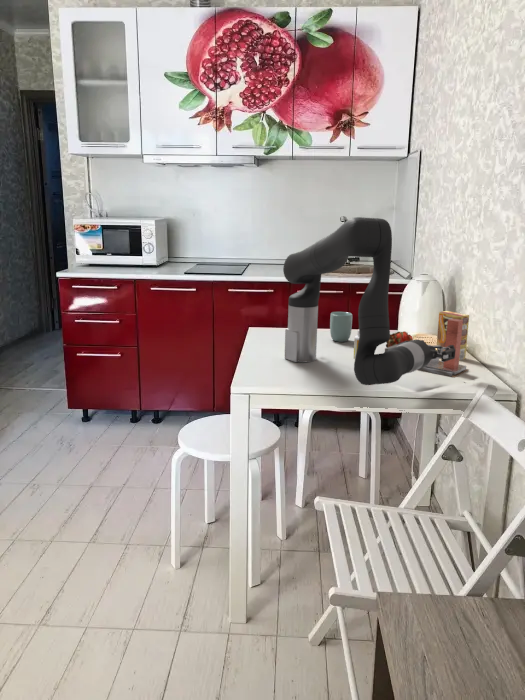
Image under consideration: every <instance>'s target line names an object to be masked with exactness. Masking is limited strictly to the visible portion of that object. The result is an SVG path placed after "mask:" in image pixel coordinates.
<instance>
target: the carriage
mask: <svg viewBox="0 0 525 700" xmlns="http://www.w3.org/2000/svg"><path fill="white" fill-rule="evenodd" d="M462 326H463V320H460V319H453V318H452V319H449V320H448V322H447V333H446V344H445V347H447V346H449V345H454V347H455V349H456V351H455V358H454V359H451V360H448V361H445V362H440V361H441V360H440V359H432V360H431V361H430V362H429V363H428V365H426V366H425V367H426V368H431V369H436V370H441V371H446V372H451V373H453V374H452V375H456V374H458V373H460V372H462V371H464V370H466V369H467V365H464V366H461V365H462V364H459V363H460V360H459V356H460V346H461V336H462Z"/></svg>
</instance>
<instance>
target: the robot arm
mask: <svg viewBox="0 0 525 700" xmlns="http://www.w3.org/2000/svg"><path fill="white" fill-rule="evenodd" d="M392 250H393V234H392V227H391V225H390V223H389V222H388V220H386V219H383V218H375V217H362V216H361V217H359V216H357V217H352V218H349V219H348V220H346V221H344V223H343V224H341V225H340V226H339V227H338V228H337V229H336V230H335V231H333V232H331V233H330V234H329V235H326V236H325V237H322V238H321V239H319V240H317V241H316V242H315V243H313V244H311V245H309V246H308V247H306V248H304V249H303V250H301V251H298V252H293V253H291V254H289V255H288V256H287V257H286V259H285V261H284V264H283V267H282V268H283V275H284V278H285V279H286V281H287V282H289V283H291V284H294V285H297V284H298V285H301V284H305V285H304V287H303V288H302V289H301V290H299V291H297V292H294V293H293V294H291V295H290V296H289V297H288V309H287V311H288V313H287V315H288V317H287V328H285V331H284V332H285V333H284V359H286V360H289V361H291V362H294V363H309V362H314V361H316V360H317V343H318V319H319V318H318V317H319V300H320V293H321V284H322V283H321V281H322V275H324V274H330V273H332V272H335V271H337V270H339V269H340V268H342V267H344V266H345V265H346V263H347V261H348V259H349V257H354V258H355V257H356V258H358V257H359V258H372V263H373V269H372V275H371V278H370V280H369V283H368V285H367V287H366V289H364V292H363V294H362V296H361V299H360V301H359V305H358V310H357V317H358V318H357V319H358V330H359V334H360V336H359V342H358V348H357V353H356V357H355V359H354V363H353V371H354V372H353V373H354V375H355V378H356V380H357V381H358V383H359V384H361V385H364V386H374V385H385V384H386V385H387V384H391V383H396V382H397V381H399V380H400V379H401V378H402V376H404V375H406V374H410V373H413V372H416V371H419V370H418V369H421V368H423V367H425V366H426V365H428V363H429V362H430V361H431V360H432V359H439V360H440V361H443V362H445V361H448V360H451V359H454V358H455V351H456V349H455V347H454V345H449V346H447V347H442V346H440V345H437V344H436V345H432V344H427V343H426V341H425V340H423V339H421V340H420V339H413V340H412V341H404V342H402V343H399V344H398V346H397V347H394V348H391V349H389V350H387V351H385V350H384V352H383V353H375V352H376V349H377V348H378V347H379V346H380V345H384V344H385V343H386V342H387V341H388V340H389V339H390V334H391V329H390V317H389V316H390V314H389V313H390V312H389V289H390V288H389V287H390V286H389V285H390V274H391V267H392V266H391V263H392ZM436 348H438V350H436ZM442 350H443V351H442ZM444 350H445V351H444Z"/></svg>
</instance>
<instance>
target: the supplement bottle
mask: <svg viewBox="0 0 525 700" xmlns="http://www.w3.org/2000/svg"><path fill="white" fill-rule="evenodd" d="M359 336H360V334H359V329H357V333H356V335H355V336H354V339H353V340H354V343H353V359H354V360H355V357H356V353H357V348H358V342H359Z"/></svg>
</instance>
